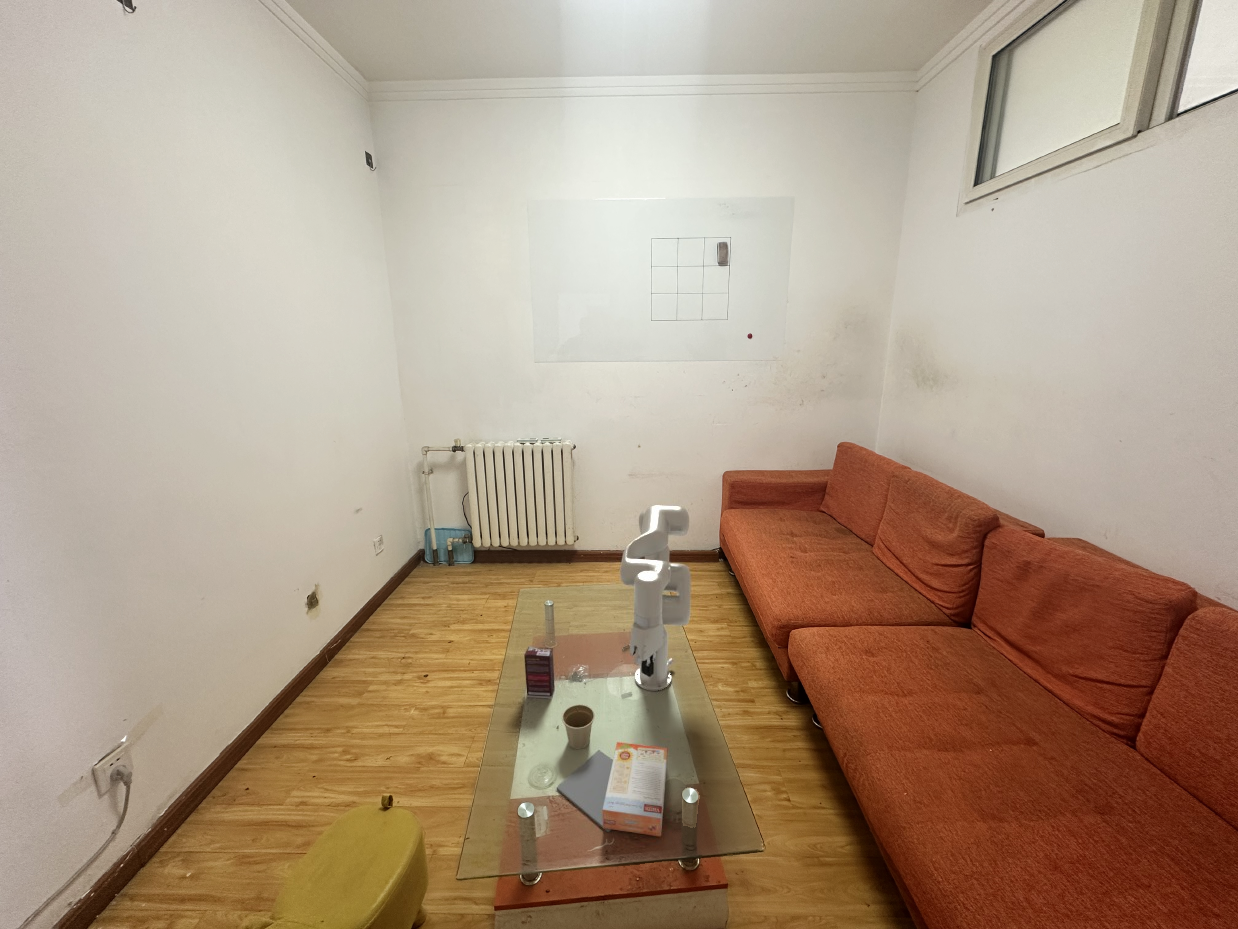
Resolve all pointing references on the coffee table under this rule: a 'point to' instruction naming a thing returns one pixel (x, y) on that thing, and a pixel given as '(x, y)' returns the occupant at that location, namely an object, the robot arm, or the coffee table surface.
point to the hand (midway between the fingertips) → (647, 673)
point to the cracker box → (636, 789)
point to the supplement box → (539, 672)
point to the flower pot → (578, 725)
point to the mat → (589, 786)
